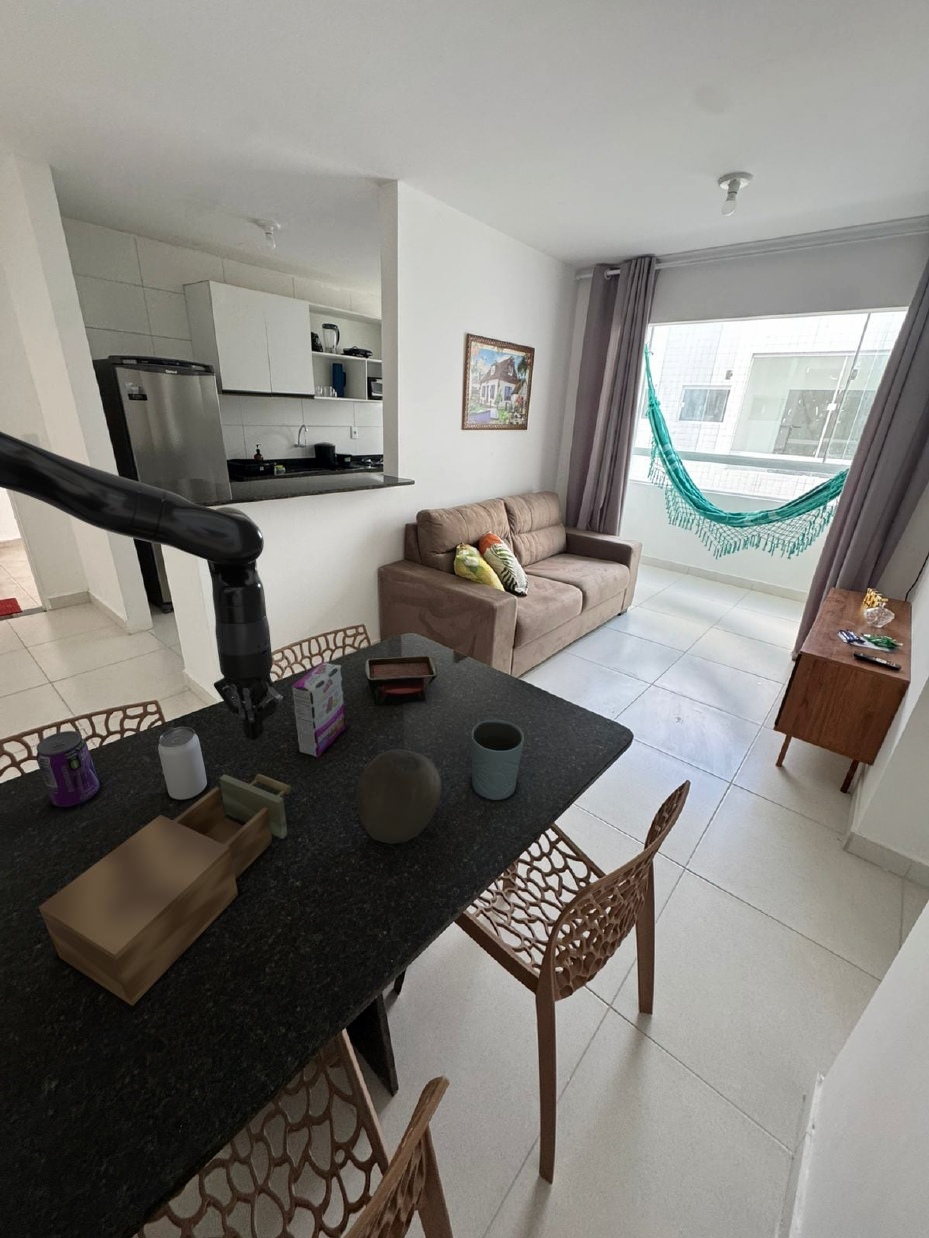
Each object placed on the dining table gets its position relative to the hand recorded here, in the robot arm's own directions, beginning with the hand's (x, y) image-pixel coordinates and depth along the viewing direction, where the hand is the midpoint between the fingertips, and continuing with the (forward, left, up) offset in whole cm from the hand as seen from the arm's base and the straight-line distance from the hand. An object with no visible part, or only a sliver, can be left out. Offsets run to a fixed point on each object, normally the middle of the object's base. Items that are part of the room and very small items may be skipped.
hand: (254, 736), depth 85 cm
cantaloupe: (+23, +7, -17) cm, 30 cm away
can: (-17, -2, -17) cm, 24 cm away
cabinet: (+1, -23, -17) cm, 28 cm away
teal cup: (+34, +25, -17) cm, 46 cm away
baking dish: (+1, +46, -17) cm, 49 cm away
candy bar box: (-4, +21, -17) cm, 28 cm away
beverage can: (-33, -12, -17) cm, 39 cm away
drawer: (+1, -8, -16) cm, 18 cm away
